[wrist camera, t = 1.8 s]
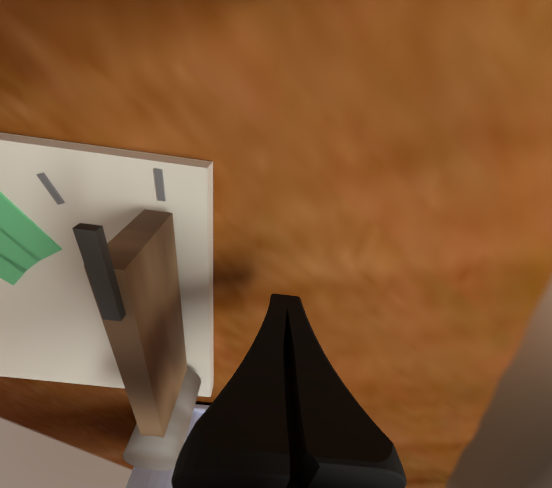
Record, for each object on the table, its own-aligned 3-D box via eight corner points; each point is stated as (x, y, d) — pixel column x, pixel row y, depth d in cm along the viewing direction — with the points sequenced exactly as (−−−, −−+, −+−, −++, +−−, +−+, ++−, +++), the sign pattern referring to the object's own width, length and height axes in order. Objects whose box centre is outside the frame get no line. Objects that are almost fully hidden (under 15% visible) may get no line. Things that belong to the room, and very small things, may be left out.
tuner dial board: (213, 384, 21) (210, 398, 20) (-17, 360, 20) (-32, 374, 19) (212, 161, 12) (206, 168, 11) (-224, 101, 11) (-272, 103, 10)
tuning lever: (201, 392, 19) (180, 472, 15) (160, 388, 19) (127, 468, 15) (191, 182, 10) (136, 242, 7) (115, 172, 10) (14, 227, 6)
